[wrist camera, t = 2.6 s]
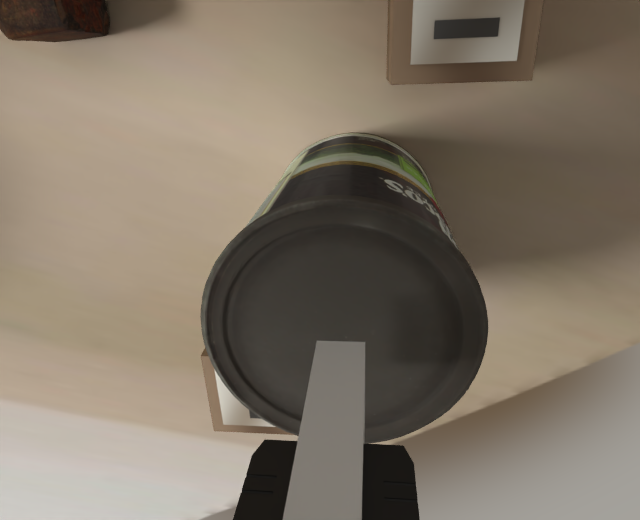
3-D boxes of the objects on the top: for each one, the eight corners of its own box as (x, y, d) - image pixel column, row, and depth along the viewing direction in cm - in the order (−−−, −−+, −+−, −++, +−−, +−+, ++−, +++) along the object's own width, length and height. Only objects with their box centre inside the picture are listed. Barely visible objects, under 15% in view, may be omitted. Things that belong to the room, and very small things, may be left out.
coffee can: (384, 96, 26) (400, 137, 13) (462, 241, 29) (536, 388, 16) (241, 186, 29) (141, 290, 16) (326, 308, 32) (298, 477, 19)
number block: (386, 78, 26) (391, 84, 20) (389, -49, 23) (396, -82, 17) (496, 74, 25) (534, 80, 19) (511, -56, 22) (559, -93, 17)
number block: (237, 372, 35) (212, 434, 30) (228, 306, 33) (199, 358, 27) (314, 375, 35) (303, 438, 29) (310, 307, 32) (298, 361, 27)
